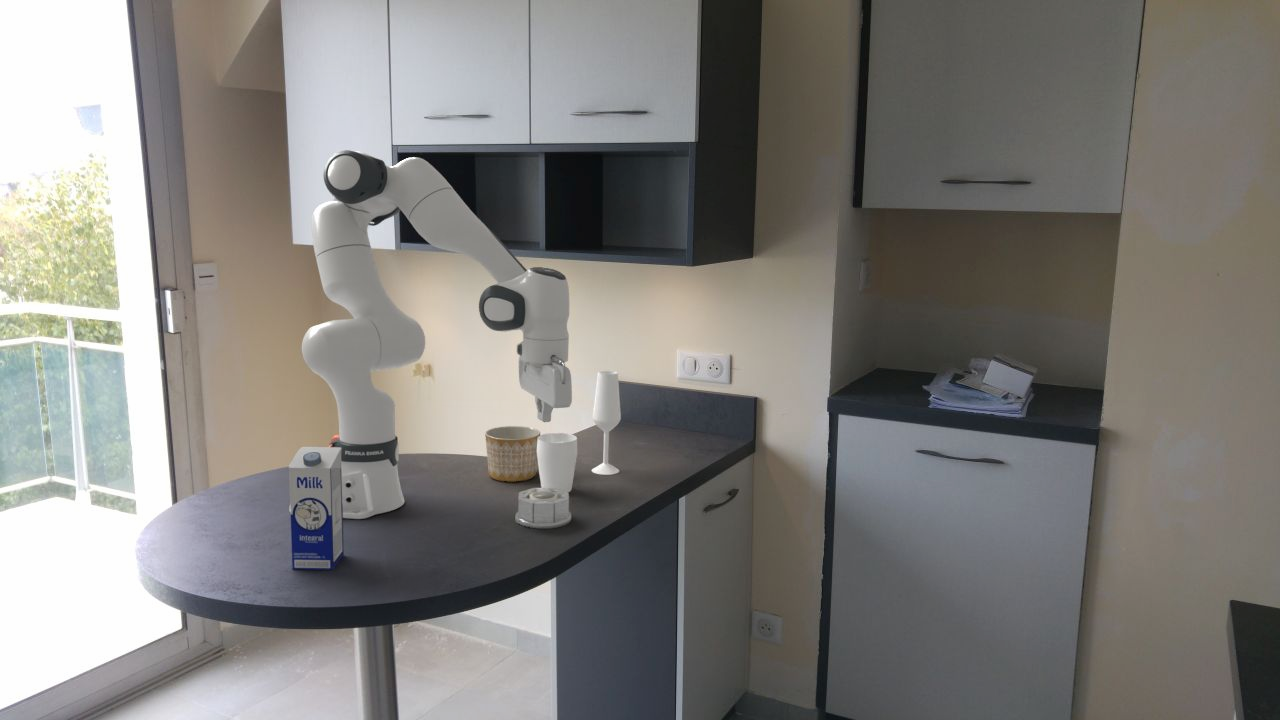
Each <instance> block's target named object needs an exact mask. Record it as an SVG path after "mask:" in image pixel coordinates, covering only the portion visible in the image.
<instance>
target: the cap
mask: <svg viewBox="0 0 1280 720" xmlns="http://www.w3.org/2000/svg"><path fill="white" fill-rule="evenodd" d="M530 499H531V500H535V501H553V500H556V499H557V494H556V493H554V492H549V491H538V492H534V493H531V494H530Z"/></svg>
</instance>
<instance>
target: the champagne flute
mask: <svg viewBox="0 0 1280 720" xmlns="http://www.w3.org/2000/svg"><path fill="white" fill-rule="evenodd" d="M619 385H620V384H619V372H618V371H615V370H599V371H598V372H597V377H596V385H595V393H594V394H595V395H594V401H593V411H592V420H593V422H594V424H595V426H597V427H598V428H599V429H600V430H601V431H602V432H603V453H602V454H603V456H602V457H603V460H602V463H600V464H599V465H597V466H595V467H593V468H592V469H591V472H592V473H593V474H597V475H601V476H603V475H605V476H607V475H615V474H618V473H619V472H620V470H619V469H618V468H616V466H614V465H612V464H611V463H609V441H610V439H609V438H610V432H611V431H612V430H614V428H615V427H617V426H618V424H619V423H620V422H621V419H622V413H621V400H620V386H619Z"/></svg>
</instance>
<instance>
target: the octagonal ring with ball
mask: <svg viewBox="0 0 1280 720" xmlns="http://www.w3.org/2000/svg"><path fill="white" fill-rule="evenodd" d="M538 491H549V492H554V493H556V494H557V499H556V500H553V501H535V500H531V499H530V494H531V493H534V492H538ZM569 493H570V492H566V491H563V490H560V489H556V488H541V487H532V488H529V489H528V488H527V489H526V490H522V491H519V492H518V501H517V502H518V506H517V508H518V510H517V511H516V512H515V518H514V519H515V523H516V524H518V523H519V524H520V526H521V525H522V527H524V526H526V527H525V528H528V527H530V528H529V529H534V528H535V529H536V530H549V529H550V530H551V529H557V528H562V527H564V526H566V525H568V524H570V523H571V522H572V513H571V511H570V494H569ZM519 524H518V525H519ZM535 529H534V530H535Z"/></svg>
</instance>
